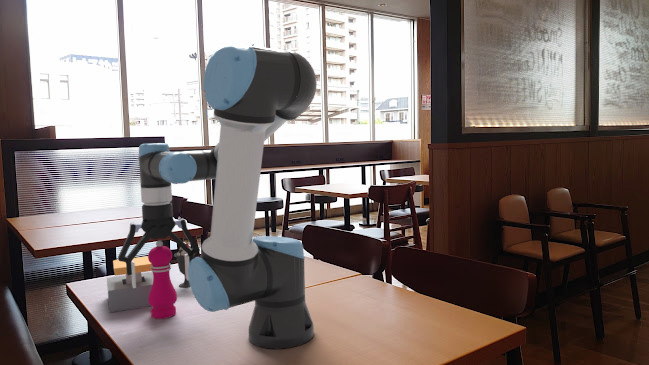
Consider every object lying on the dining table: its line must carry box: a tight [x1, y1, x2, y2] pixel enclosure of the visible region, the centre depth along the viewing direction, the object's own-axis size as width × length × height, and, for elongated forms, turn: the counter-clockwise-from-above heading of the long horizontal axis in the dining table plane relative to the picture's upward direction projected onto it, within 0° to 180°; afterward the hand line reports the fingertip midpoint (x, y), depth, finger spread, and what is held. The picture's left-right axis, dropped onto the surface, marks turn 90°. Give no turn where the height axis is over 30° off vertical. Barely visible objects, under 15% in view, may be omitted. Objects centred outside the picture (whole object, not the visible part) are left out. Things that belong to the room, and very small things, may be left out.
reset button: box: [112, 255, 152, 284], centre depth 145 cm, size 10×10×7 cm
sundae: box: [173, 239, 197, 288], centre depth 159 cm, size 7×7×15 cm
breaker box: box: [106, 271, 153, 313], centre depth 146 cm, size 14×14×6 cm
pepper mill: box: [148, 240, 178, 320], centre depth 133 cm, size 7×7×20 cm
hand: (161, 282), depth 133 cm, fingers open, 13 cm apart
